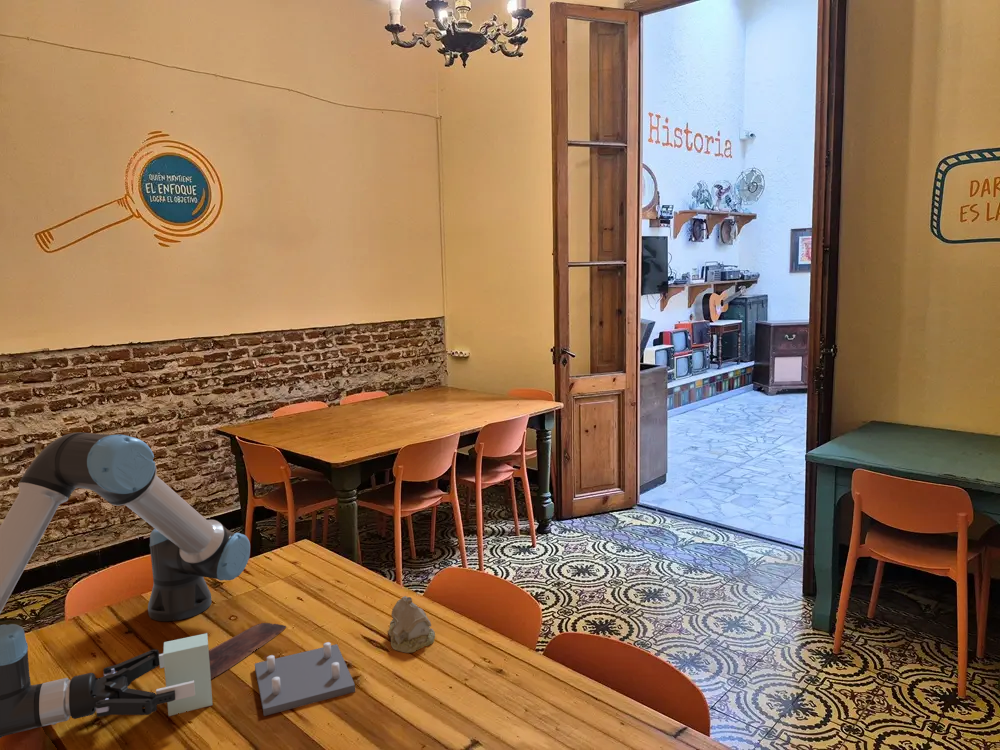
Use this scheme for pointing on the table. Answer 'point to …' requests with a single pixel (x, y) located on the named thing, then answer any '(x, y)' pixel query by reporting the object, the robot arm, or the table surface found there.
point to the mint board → (188, 671)
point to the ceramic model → (409, 627)
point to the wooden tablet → (241, 646)
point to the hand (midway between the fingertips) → (194, 670)
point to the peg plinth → (302, 678)
